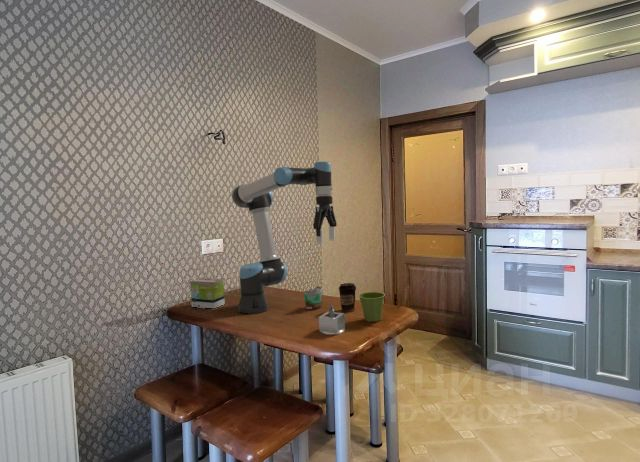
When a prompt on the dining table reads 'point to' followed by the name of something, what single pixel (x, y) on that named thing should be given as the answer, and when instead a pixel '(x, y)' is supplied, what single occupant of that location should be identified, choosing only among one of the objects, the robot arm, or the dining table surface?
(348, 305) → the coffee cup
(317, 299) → the food container
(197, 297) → the tea box
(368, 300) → the plant pot
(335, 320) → the collar
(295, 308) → the dining table surface
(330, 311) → the post
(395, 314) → the dining table surface
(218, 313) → the dining table surface
